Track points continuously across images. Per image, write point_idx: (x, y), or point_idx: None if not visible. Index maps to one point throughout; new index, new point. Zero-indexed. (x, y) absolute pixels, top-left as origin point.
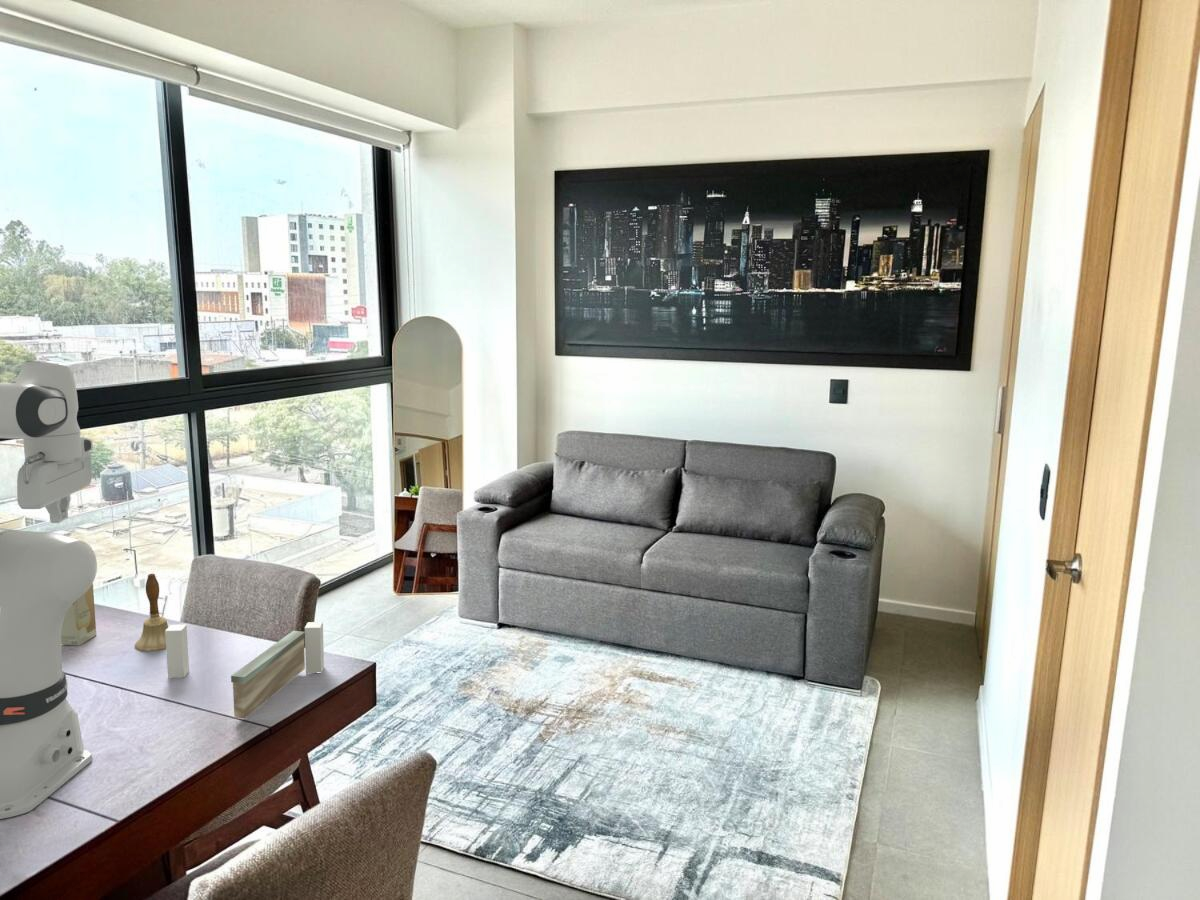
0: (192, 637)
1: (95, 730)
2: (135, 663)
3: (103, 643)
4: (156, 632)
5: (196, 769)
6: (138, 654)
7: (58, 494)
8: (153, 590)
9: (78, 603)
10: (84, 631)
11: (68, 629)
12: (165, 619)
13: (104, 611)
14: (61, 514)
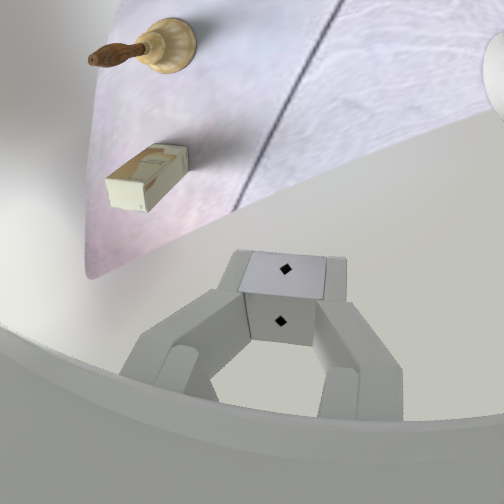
0: (143, 10)
1: (459, 21)
2: (240, 36)
3: (175, 119)
4: (169, 36)
5: None
6: (207, 49)
7: (471, 486)
8: (119, 46)
9: (151, 172)
10: (168, 151)
11: (177, 169)
12: (142, 35)
13: (93, 174)
14: (322, 289)
